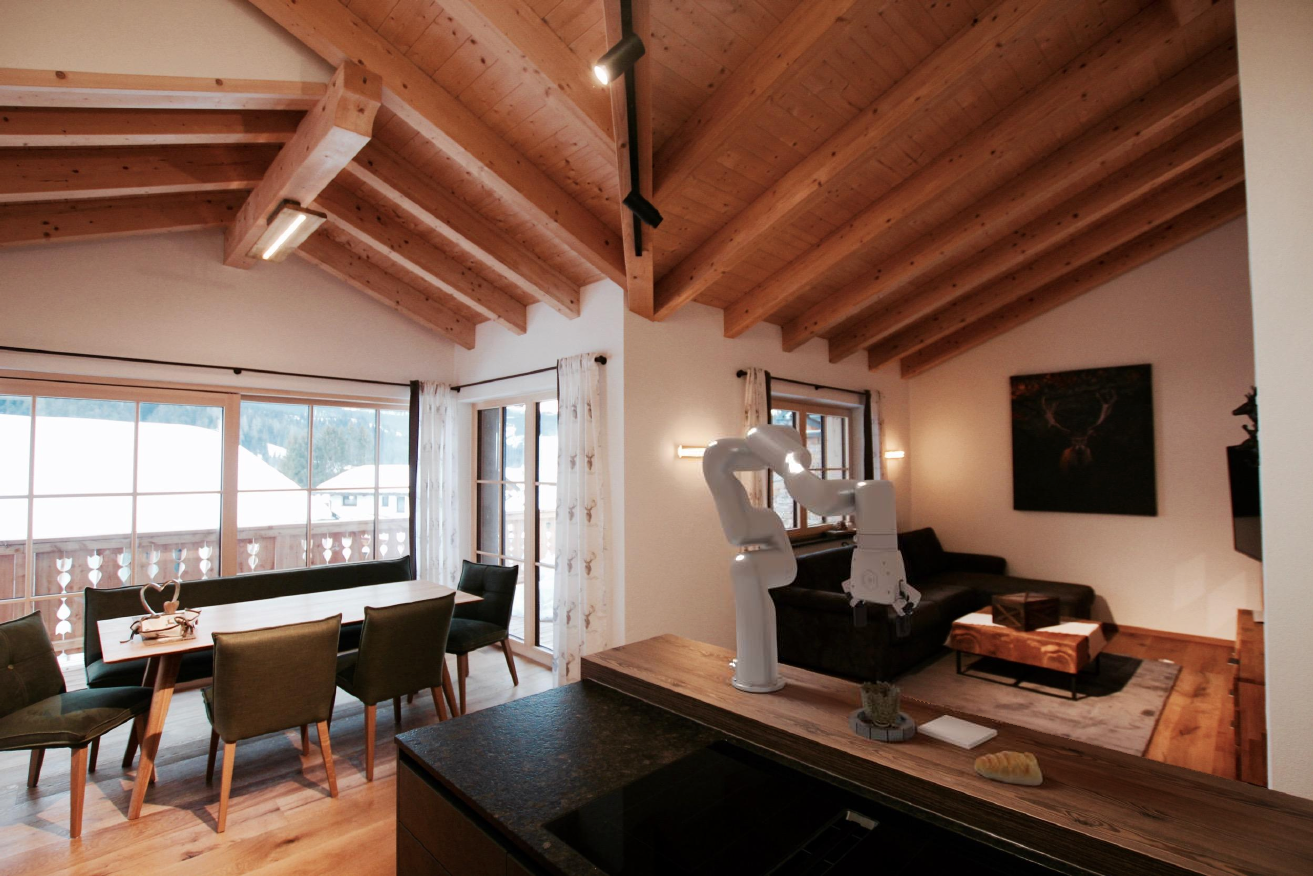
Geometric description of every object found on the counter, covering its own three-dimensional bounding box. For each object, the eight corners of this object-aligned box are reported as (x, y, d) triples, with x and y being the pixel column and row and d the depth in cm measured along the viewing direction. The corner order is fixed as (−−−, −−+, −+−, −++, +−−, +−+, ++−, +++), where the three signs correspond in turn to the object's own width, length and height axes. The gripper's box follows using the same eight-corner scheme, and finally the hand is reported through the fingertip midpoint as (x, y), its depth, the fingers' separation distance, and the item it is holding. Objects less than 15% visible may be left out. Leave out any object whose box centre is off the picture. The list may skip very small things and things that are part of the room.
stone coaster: (917, 731, 119) (917, 727, 119) (946, 719, 125) (945, 715, 125) (968, 749, 111) (968, 744, 111) (997, 735, 116) (996, 730, 116)
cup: (896, 721, 124) (894, 680, 124) (907, 737, 117) (905, 693, 117) (858, 721, 125) (856, 680, 125) (866, 736, 117) (864, 693, 118)
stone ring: (838, 727, 122) (837, 716, 122) (874, 713, 129) (874, 703, 129) (890, 746, 113) (889, 735, 113) (926, 730, 119) (926, 720, 119)
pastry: (981, 784, 99) (980, 759, 99) (969, 765, 105) (967, 742, 106) (1046, 788, 97) (1045, 763, 97) (1029, 769, 103) (1028, 745, 104)
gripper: (829, 541, 127) (833, 626, 126) (904, 547, 113) (909, 643, 112) (853, 538, 132) (857, 620, 130) (928, 544, 117) (933, 636, 116)
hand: (881, 631), depth 121 cm, fingers open, 9 cm apart
